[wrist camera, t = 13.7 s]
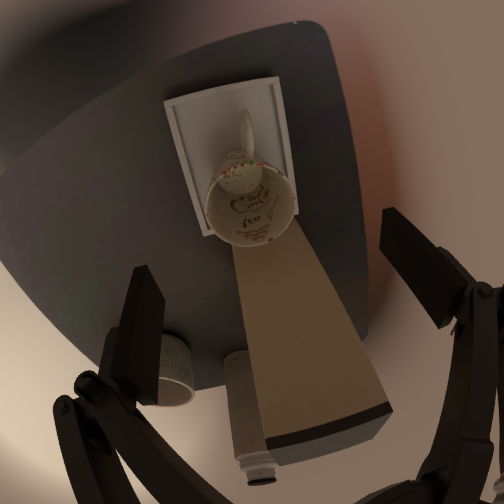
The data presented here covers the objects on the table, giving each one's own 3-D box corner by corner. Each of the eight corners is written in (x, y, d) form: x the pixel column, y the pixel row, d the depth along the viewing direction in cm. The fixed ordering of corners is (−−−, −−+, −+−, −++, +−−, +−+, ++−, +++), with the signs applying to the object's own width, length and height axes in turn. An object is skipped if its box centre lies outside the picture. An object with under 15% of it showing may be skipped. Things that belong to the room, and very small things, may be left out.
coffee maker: (166, 100, 27) (-10, 201, 4) (273, 76, 28) (503, 99, 4) (220, 276, 43) (243, 472, 19) (299, 257, 43) (375, 437, 19)
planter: (143, 317, 46) (136, 369, 37) (204, 339, 51) (207, 388, 42) (125, 351, 51) (119, 396, 42) (178, 368, 56) (178, 412, 47)
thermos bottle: (257, 346, 55) (284, 478, 32) (262, 365, 59) (287, 482, 36) (219, 354, 54) (234, 485, 32) (228, 372, 59) (244, 488, 36)
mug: (208, 207, 35) (209, 251, 27) (199, 108, 28) (194, 118, 19) (273, 201, 36) (294, 242, 27) (272, 103, 28) (298, 113, 20)
